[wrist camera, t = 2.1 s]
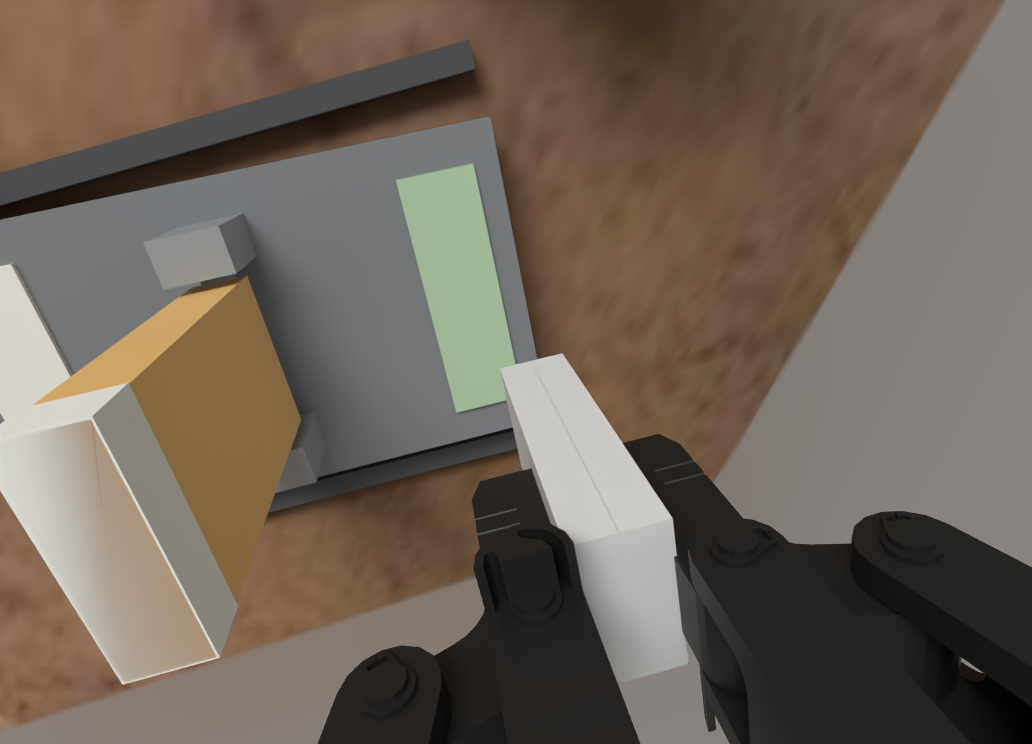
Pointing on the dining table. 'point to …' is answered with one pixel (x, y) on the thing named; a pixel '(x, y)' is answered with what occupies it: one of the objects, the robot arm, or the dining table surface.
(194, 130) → the dark grey bar
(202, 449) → the breaker lever
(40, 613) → the dining table surface
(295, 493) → the dark grey edge strip
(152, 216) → the panel
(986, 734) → the robot arm
